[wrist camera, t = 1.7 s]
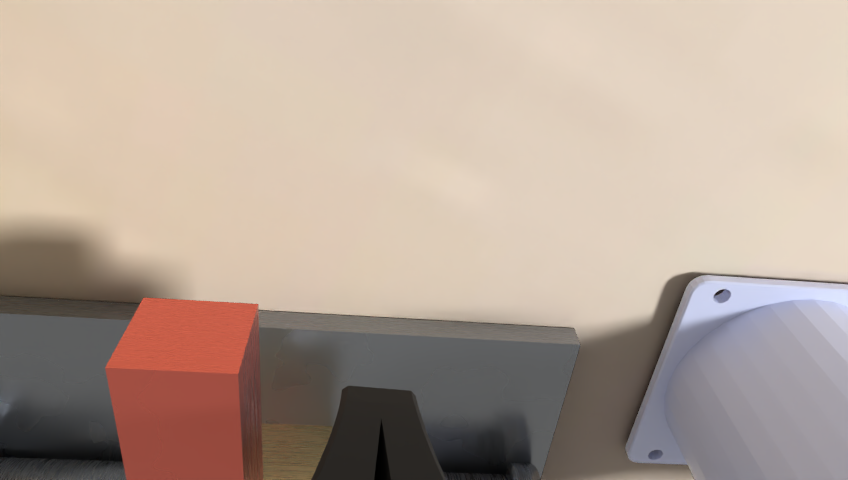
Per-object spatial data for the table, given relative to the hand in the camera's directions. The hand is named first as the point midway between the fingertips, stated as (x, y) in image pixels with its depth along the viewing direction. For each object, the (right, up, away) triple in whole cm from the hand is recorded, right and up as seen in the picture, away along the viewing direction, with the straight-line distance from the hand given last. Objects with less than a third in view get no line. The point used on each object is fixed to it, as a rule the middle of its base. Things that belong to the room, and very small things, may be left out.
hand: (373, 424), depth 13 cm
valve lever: (-4, -3, +4) cm, 6 cm away
